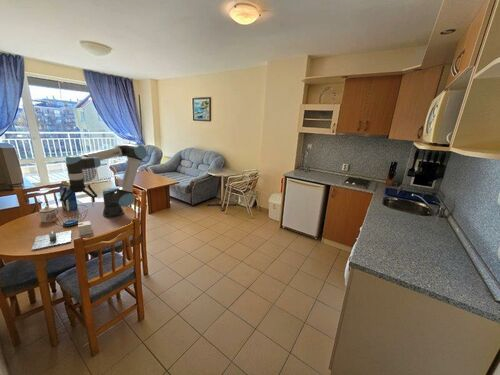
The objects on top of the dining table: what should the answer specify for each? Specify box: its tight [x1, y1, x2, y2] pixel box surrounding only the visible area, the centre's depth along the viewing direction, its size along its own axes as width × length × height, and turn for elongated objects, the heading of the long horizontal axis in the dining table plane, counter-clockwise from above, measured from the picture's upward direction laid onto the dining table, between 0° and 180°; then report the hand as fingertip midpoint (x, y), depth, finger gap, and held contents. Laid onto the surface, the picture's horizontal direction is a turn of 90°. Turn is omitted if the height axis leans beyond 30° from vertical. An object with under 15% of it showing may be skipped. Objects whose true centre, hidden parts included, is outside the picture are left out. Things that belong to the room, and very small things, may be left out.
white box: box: [77, 220, 93, 236], centre depth 150 cm, size 7×7×8 cm
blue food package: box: [58, 180, 79, 212], centre depth 185 cm, size 6×12×25 cm, turn 65°
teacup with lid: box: [38, 205, 59, 223], centre depth 164 cm, size 12×9×12 cm
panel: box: [31, 230, 72, 251], centre depth 137 cm, size 18×18×6 cm
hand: (81, 208), depth 146 cm, fingers open, 13 cm apart
